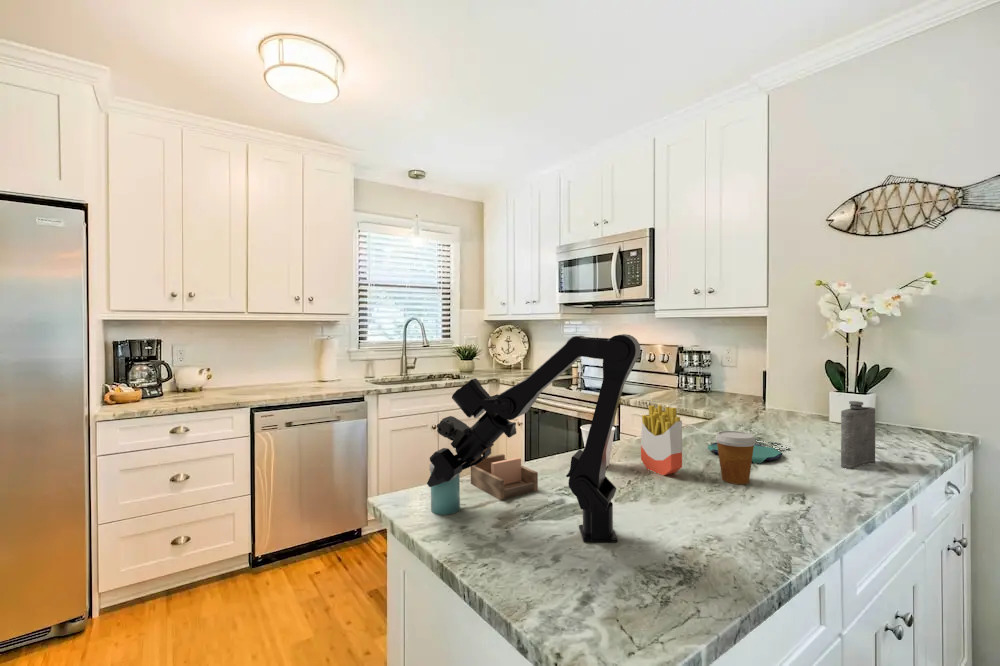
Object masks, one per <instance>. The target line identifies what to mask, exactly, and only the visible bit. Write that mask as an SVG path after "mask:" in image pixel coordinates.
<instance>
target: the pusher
mask: <svg viewBox="0 0 1000 666" xmlns="http://www.w3.org/2000/svg"><path fill="white" fill-rule="evenodd" d="M521 466H522V458H521V457H514V458H513V457H512V458H509V459H507V460H503V461H498V462H493V463H491V474H492V475H495V476H497V477H499V478H501V479H503V480H504V485H506V484H510V483H514V482H518V481H521Z"/></svg>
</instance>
